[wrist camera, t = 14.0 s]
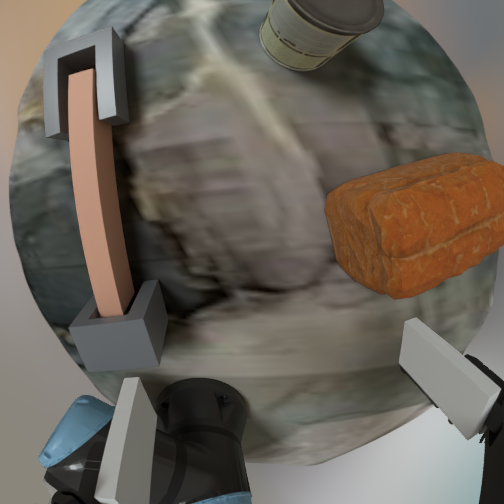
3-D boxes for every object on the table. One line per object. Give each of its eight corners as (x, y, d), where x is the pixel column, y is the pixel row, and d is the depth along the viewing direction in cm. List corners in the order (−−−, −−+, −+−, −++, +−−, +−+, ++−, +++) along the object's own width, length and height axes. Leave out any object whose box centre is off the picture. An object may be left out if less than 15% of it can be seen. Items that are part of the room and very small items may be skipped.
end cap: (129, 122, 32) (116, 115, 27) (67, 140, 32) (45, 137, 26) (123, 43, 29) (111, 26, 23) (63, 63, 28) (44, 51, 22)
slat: (135, 291, 39) (123, 315, 32) (115, 293, 38) (100, 317, 32) (110, 83, 31) (92, 68, 24) (89, 88, 30) (68, 75, 24)
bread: (463, 226, 44) (526, 248, 30) (339, 280, 43) (394, 330, 28) (453, 148, 40) (522, 152, 25) (317, 186, 38) (377, 200, 24)
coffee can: (260, 4, 30) (285, -55, 17) (332, 18, 32) (379, -27, 18) (255, 66, 33) (282, 18, 19) (332, 78, 34) (388, 46, 21)
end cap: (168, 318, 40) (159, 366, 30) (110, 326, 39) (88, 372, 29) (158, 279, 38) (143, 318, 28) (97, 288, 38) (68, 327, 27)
